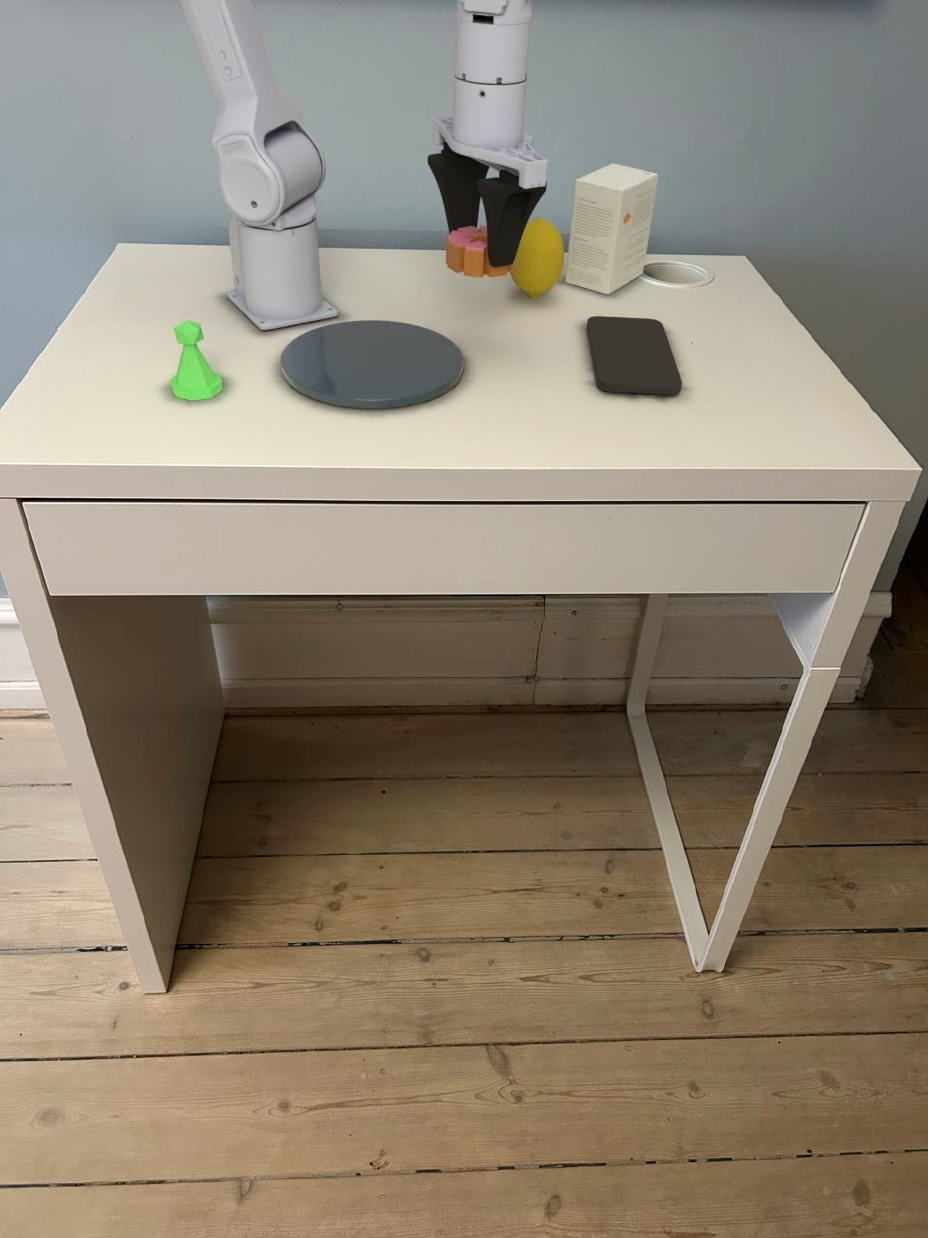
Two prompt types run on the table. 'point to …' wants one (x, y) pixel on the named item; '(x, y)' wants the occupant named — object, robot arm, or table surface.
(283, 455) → the table surface
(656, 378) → the phone
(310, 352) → the plate
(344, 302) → the table surface
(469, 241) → the donut
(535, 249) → the lemon
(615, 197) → the small box
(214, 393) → the game piece
